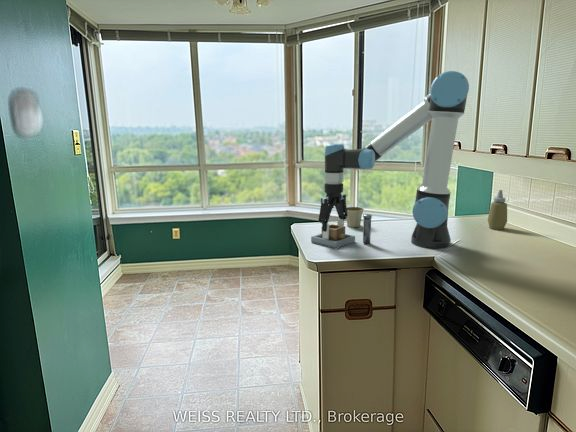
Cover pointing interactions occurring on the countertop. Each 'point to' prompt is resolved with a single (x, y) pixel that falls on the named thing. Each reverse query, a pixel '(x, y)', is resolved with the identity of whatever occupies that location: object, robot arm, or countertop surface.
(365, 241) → the post
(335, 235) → the brown wooden box
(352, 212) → the flower pot
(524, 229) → the countertop surface
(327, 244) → the tray
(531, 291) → the countertop surface
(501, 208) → the squeeze bottle
